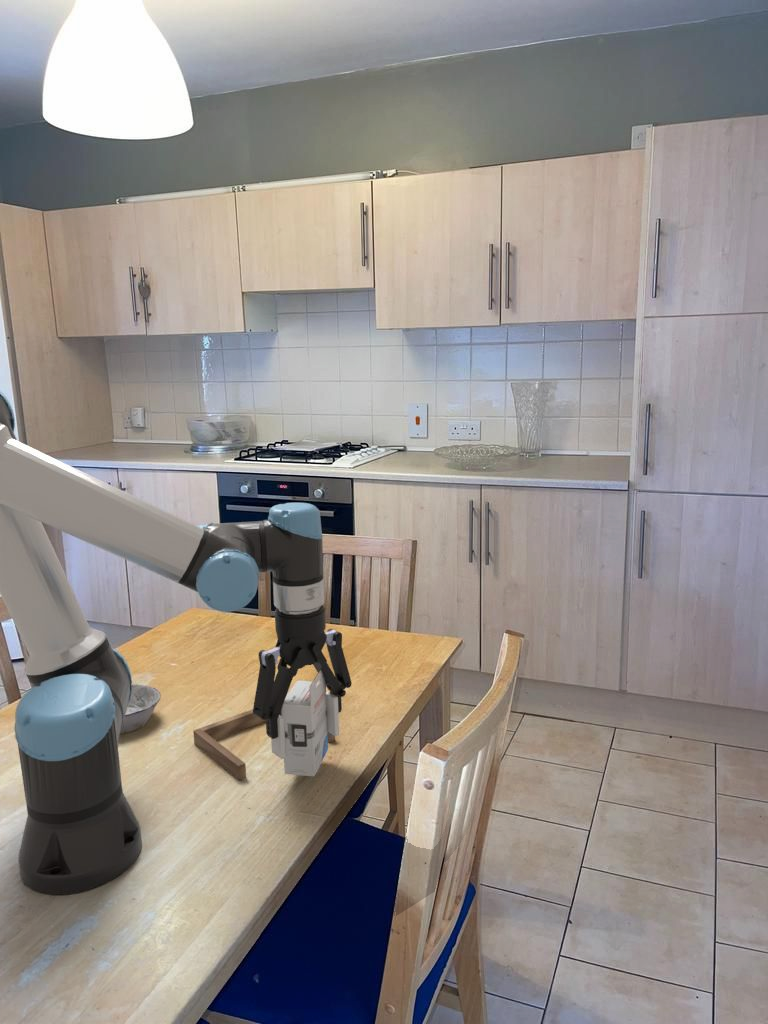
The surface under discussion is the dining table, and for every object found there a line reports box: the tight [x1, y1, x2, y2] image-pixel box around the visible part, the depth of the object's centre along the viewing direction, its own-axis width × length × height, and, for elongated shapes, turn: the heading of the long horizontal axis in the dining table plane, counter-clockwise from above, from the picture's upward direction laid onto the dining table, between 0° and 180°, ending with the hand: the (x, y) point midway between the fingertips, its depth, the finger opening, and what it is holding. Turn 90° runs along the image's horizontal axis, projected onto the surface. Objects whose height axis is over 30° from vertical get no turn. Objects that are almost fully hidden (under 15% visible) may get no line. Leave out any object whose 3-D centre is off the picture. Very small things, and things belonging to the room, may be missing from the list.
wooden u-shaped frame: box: [192, 708, 336, 781], centre depth 132 cm, size 18×15×2 cm
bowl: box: [120, 683, 162, 734], centre depth 140 cm, size 13×13×5 cm
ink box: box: [281, 670, 329, 777], centre depth 120 cm, size 9×5×15 cm, turn 169°
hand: (306, 743), depth 121 cm, fingers closed on ink box, 9 cm apart
